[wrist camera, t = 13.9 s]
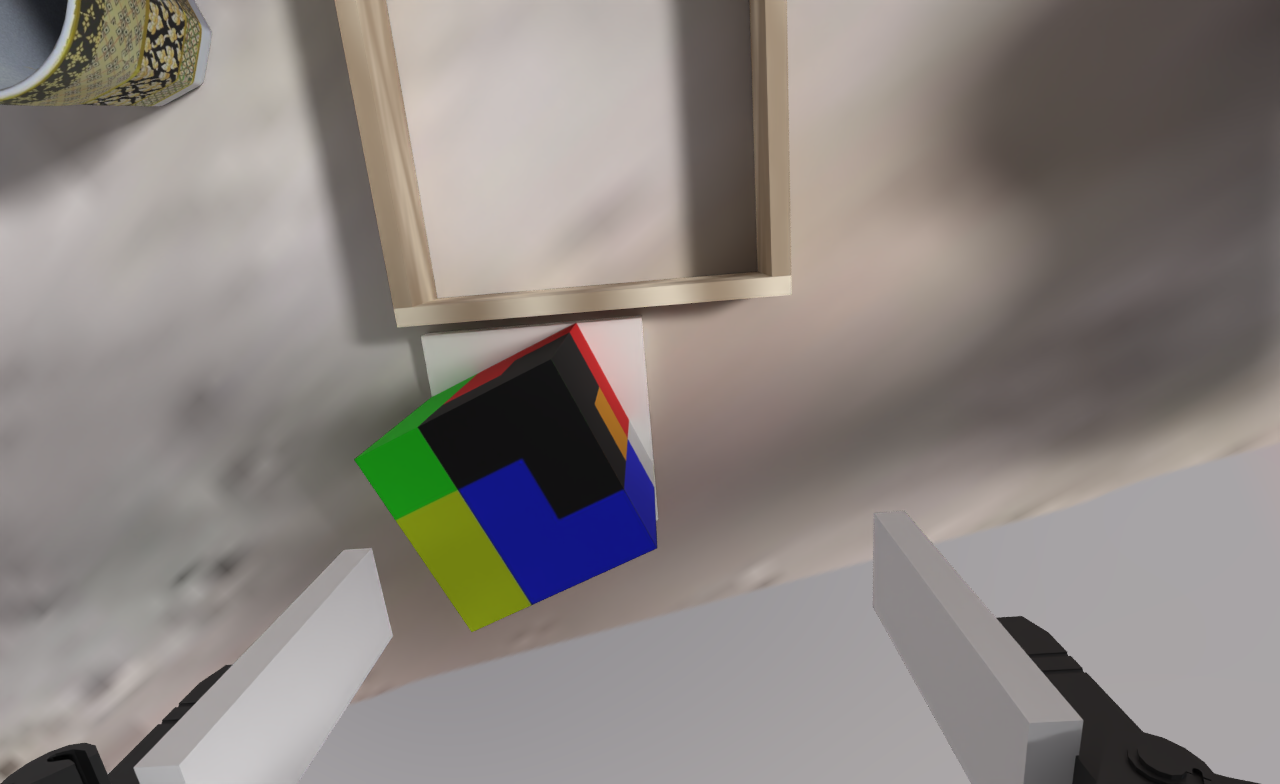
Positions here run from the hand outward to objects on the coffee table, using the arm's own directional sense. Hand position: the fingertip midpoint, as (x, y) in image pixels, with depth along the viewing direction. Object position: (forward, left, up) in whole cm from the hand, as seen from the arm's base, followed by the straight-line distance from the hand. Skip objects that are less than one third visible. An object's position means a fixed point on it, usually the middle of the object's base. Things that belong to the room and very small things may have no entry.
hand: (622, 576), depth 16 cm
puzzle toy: (+6, +3, -21) cm, 22 cm away
